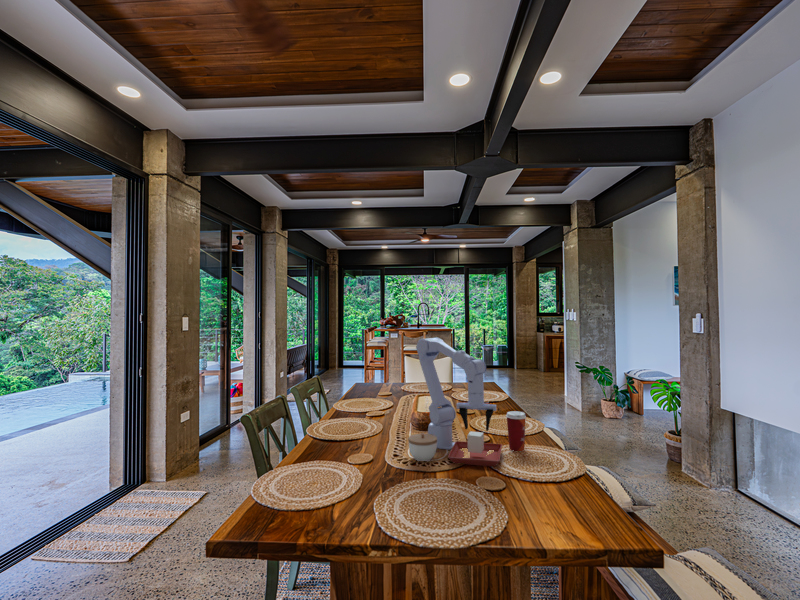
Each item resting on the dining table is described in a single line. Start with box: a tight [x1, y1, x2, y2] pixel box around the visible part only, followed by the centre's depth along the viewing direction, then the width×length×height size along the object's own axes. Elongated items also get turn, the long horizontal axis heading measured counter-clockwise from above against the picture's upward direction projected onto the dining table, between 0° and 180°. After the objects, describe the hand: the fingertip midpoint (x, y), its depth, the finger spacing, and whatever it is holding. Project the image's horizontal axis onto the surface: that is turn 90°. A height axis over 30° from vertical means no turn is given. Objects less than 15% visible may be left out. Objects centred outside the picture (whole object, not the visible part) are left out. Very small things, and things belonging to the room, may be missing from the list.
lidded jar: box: [407, 432, 438, 462], centre depth 148 cm, size 11×11×9 cm
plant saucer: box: [447, 440, 503, 467], centre depth 148 cm, size 18×18×3 cm
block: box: [466, 431, 485, 453], centre depth 148 cm, size 5×5×6 cm
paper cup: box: [505, 410, 527, 452], centre depth 156 cm, size 8×8×14 cm
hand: (476, 429), depth 148 cm, fingers open, 7 cm apart
